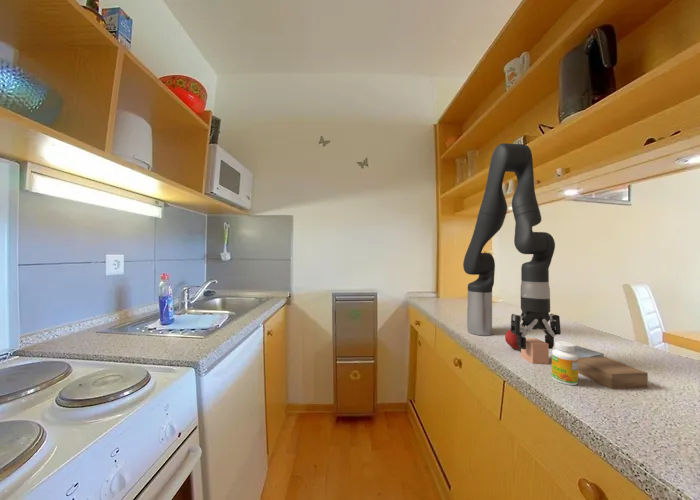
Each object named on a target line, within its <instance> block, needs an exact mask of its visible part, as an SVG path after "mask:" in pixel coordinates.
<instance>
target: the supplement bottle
mask: <svg viewBox="0 0 700 500" xmlns="http://www.w3.org/2000/svg"><path fill="white" fill-rule="evenodd" d="M575 346H576V345H575V344H574V343H571V342H568V341H563V340H555V341H554V348H555V349H554V348H553V350H552V351H551V378H552V379H553V380H554V381H555V382H558V383H560V384H564V385H566V386H576V385H578V383H579V373H578V356H577V354H576V353H574V352H573V351H575Z"/></svg>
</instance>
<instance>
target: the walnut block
mask: <svg viewBox="0 0 700 500" xmlns="http://www.w3.org/2000/svg"><path fill="white" fill-rule="evenodd" d="M578 375H581V376H583V377H586V378H588V379H589V380H591V381H594V382H596V383H598V384H600V385H603V386H604V387H606V388H608V389H610V390H620V389H621V390H622V389H623V390H624V389H641V388H642V389H643V388H644V389H645V388H647V389H648V386H649V384H648V383H649V381H648V378H649V373H648V372H646V371H644V370H641V369H639V368H636V367H633V366H631V365H629V364H628V365H627V364H625V363H623V362H620V361H617V360H615V359H612V358H609V357H607V356H604V357H583V358H578Z"/></svg>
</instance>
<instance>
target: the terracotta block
mask: <svg viewBox="0 0 700 500" xmlns="http://www.w3.org/2000/svg"><path fill="white" fill-rule="evenodd" d="M549 350H550V349H549V344H548V343H546V342H545V341H544V340H540V339H538V338H536V337H535V338H533V337H532V338H531V337H529V338H528V337H527V338H526V349H521V348H520V358H522V359H523V360H525V361H527V362H529V363H531V364H533V365H534V364H535V365H537V364H539V365H541V364H545V365H546V364H549V361H550V359H549V357H550V356H549V355H550V354H549V352H550V351H549Z"/></svg>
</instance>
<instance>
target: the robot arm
mask: <svg viewBox="0 0 700 500" xmlns="http://www.w3.org/2000/svg"><path fill="white" fill-rule="evenodd" d="M533 161H534V160H533V154H532V150H531V148H530V146H528V145H526V144H523V143H504V142H503V143H499V144H498V145H497V146H496V147H495V148H494V150H493V153H492V155H491V158H490V163H489V167H488V168H489V169H488V174H487V180H486V184H485V189H484V193H483V197H482V201H481V204H480V206H479V210H478V215H477V218H476V223H475V226H474V229H473V233H472V236H471V238H470V239H471V240H470V242H469V245H468V247H467V250H466V252H465V255H464V258H463V264H462V265H463V266H462V267H463V271H464V272H465V274H467V275H472V276H478V277H477V279H475V280H474V281H471V282H469V283H468V284H467V308H466V330H467V332H468V333H470V334H473V335H476V336H477V335H478V336H491V335H492V334H493V287H494V285H495V271H496V262H495V261H496V260H495V258H494V256H493V255H492V254H491V253H490V252H483V249H484V248H485V246H486V244H487V243H489V241H490V240H491V239H492V238H493V237H494V236H495V235H496V234H497V233H498V232H499V231H500V230H501V228H503V225H504V221H505V219H506V216H507V213H508V204H507V200H506V197H505V194H504V189H503V185H504V178H505V175H506V172H507V173H508V172H509V173H511V172H512V173H514V174H515V176H516V180H517V184H516V188H515V190H514V194H513V195H512V200H511V208H512V213H513V218H514V222H515V225H514V236H513V237H514V239H513V240H514V241H513V242H514V247H515V249H516V250H517V252H519V253H520V254H522V255H532V257H531V259H530V260H529V261H527V262H523V263H522V264H521V267H520V268H521V269H520V271H521V272H520V273H521V278H520V279H521V283H520V310H521V314H515V313H512V314H511V316H510V318H511V319H510V329H511V333H513V334H516V335H517V342H518V343H517V344H518V346H519V348H518V349H520V350H521V349H526V336H527V334H528V333H530V332H531V331H532V330H542V331H543V333H544V334H545V335H544V342H546V343H548V344H549V350H552V349H553V350H554V348H555V337H556V336H557V335H558V336H559V335H561V334H562V333H561V332H562V331H561V319H560V316H559V315H558V314H554V313H551V288H550V275H549V273H550V270H549V269H550V266H551V262H552V259H553V256H554V253H555V248H556V242H555V239H554V237H553V236H552V234H551V233H549V232H545V231H533V227H536V226H538V225H539V224H540V223H541V222H542V214H541V210H540V208H539V207H540V206H539V204H538V200H537V196H536V190H535V178H534V177H535V176H534V174H535V173H534V162H533Z"/></svg>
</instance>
